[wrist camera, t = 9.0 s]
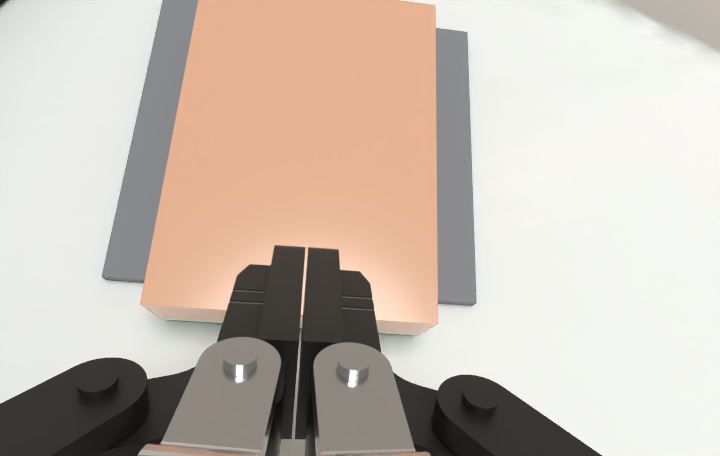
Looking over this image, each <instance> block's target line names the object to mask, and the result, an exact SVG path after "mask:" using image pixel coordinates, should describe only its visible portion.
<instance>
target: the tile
mask: <svg viewBox="0 0 720 456" xmlns="http://www.w3.org/2000/svg"><path fill="white" fill-rule="evenodd" d="M275 245H284V246H298V247H305V261H304V275H303V289H302V303H301V317H300V328H302V322H303V308H304V295H305V282H306V270H307V257H308V247H314V248H328V249H339V260H340V270H349V271H360V272H361V273H362V274H363V276H364V277H365V278H366V279H367V280H368V281H369V283H370V284H371V291H372V300H373V304H374V311H375V317H376V323H377V329H378V333H386V334H402V335H420V334H421V333H423V332H425V331H427V330H428V329H430V328H432V327H434V326H435V325H437V324H438V267H437V140H436V13H435V5H429V4H422V3H415V2H407V1H400V0H198V5H197V10H196V15H195V20H194V25H193V31H192V36H191V41H190V46H189V52H188V57H187V62H186V67H185V72H184V78H183V83H182V88H181V93H180V98H179V104H178V109H177V114H176V119H175V124H174V130H173V135H172V140H171V145H170V151H169V156H168V161H167V166H166V171H165V177H164V182H163V187H162V192H161V197H160V203H159V208H158V213H157V218H156V224H155V229H154V234H153V239H152V244H151V250H150V255H149V260H148V265H147V270H146V276H145V281H144V286H143V291H142V297H141V302H140V305H142V306H143V307H145V308H146V309H148V310H149V311H150V312H152V313H153V314H155V315H156V316H158V317H159V318H161V319H165V320H181V321H197V322H213V323H223V320H224V317H225V314H226V310H227V307H228V304H229V302H230V297H231V294H232V292H233V287H234V284H235V280H236V277H237V275H238V274H239V273H240V272H241V271H243V270H244V269H245V268H246V267H247V266H248V265H249V264H256V265H271V261H272V256H273V251H274V246H275Z"/></svg>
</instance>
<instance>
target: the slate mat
mask: <svg viewBox="0 0 720 456" xmlns="http://www.w3.org/2000/svg"><path fill="white" fill-rule="evenodd" d="M197 5H198V0H163V2H162V6H161V11H160V16H159V20H158V25H157V29H156V34H155V38H154V43H153V47H152V52H151V56H150V61H149V65H148V70H147V74H146V79H145V83H144V88H143V92H142V97H141V101H140V106H139V110H138V115H137V119H136V124H135V128H134V133H133V137H132V142H131V146H130V151H129V155H128V160H127V164H126V169H125V174H124V178H123V183H122V187H121V192H120V196H119V201H118V205H117V210H116V214H115V219H114V223H113V228H112V232H111V237H110V241H109V246H108V250H107V255H106V259H105V264H104V268H103V273H102V277H103V278H104V279H106V280H118V281H132V282H144V281H145V276H146V270H147V265H148V260H149V255H150V250H151V244H152V239H153V234H154V229H155V224H156V218H157V213H158V208H159V203H160V197H161V192H162V187H163V182H164V177H165V171H166V166H167V161H168V156H169V151H170V145H171V140H172V135H173V130H174V124H175V119H176V114H177V109H178V104H179V98H180V93H181V88H182V83H183V78H184V72H185V67H186V62H187V57H188V52H189V46H190V41H191V36H192V31H193V25H194V20H195V15H196V10H197ZM436 140H437V267H438V303H444V304H459V305H474V304H476V275H475V246H474V216H473V187H472V157H471V128H470V99H469V69H468V40H467V32H463V31H455V30H447V29H440V28H436Z"/></svg>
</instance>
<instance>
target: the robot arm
mask: <svg viewBox="0 0 720 456" xmlns="http://www.w3.org/2000/svg"><path fill="white" fill-rule="evenodd" d="M304 261H305V247H298V246H284V245H275V246H274V251H273V256H272V261H271V265H256V264H249V265H248V266H247V267H246V268H245V269H244V270H243V271H241V272H240V273H239V274H238V275H237V277H236V280H235V284H234V287H233V292H232V294H231V297H230V302H229V304H228V307H227V310H226V314H225V317H224V320H223V324H222V327H221V330H220V334H219V337H218V340H217V343H215V344H213V345H211V346H210V347H209V348H207V349H206V350H205V351H204V352H203V353H202V355H201V357H200V358H199V361H198V363H197V365H196V367H194V368H192V369H190V370H187V371H184V372H181V373H178V374H174V375H169V376H163V377H158V378H152V379H147V376H146V372H145V371H144V369H143V368H142V367H141V366H140V365H139V364H137V363H135V362H133V361H130V360H127V359H123V358H101V359H95V360H91V361H87V362H84V363H81V364H79V365H77V366H75V367H73V368H71V369H69V370H67V371H65V372H63V373H61V374H59V375H57V376H55V377H53V378H51V379H49V380H47V381H45V382H43V383H41V384H39V385H37V386H35V387H33V388H31V389H29V390H27V391H25V392H23V393H21V394H19V395H17V396H15V397H13V398H11V399H9V400H7V401H5V402H3V403H1V404H0V456H279V453H280V443H281V439H291V438H292V424H293V411H294V398H295V385H296V372H297V358H298V345H299V331H300V317H301V303H302V289H303V275H304ZM295 439H306V444H305V456H602V455H600V454H599V453H597V452H596V451H594V450H593V449H592V448H590V447H589V446H587V445H586V444H584V443H583V442H581V441H580V440H579V439H577V438H576V437H574V436H573V435H571V434H570V433H569V432H567V431H566V430H564V429H563V428H561V427H560V426H558V425H557V424H556V423H554V422H553V421H551V420H550V419H548V418H547V417H545V416H544V415H543V414H541V413H540V412H538V411H537V410H535V409H534V408H532V407H531V406H530V405H528V404H527V403H525V402H524V401H522V400H521V399H519V398H518V397H517V396H515V395H514V394H512V393H511V392H509V391H508V390H507V389H505V388H504V387H502V386H501V385H499V384H497V383H495V382H493V381H491V380H489V379H486V378H483V377H479V376H475V375H458V376H454V377H451V378H449V379H447V380H445V381H444V382H443V383H442V384H441V385H440V387H439V389H438V391H437V390H433V389H430V388H426V387H423V386H419V385H416V384H413V383H410V382H408V381H406V380H404V379H402V378H401V377H399V376H397V375H396V374H395V373H394V372H393V371H392V367H391V365H390V362H389V361H388V359H387V358H386V357H385V356H384V355H383V354H382V353H381V349H380V342H379V336H378V329H377V323H376V317H375V311H374V304H373V300H372V291H371V284H370V283H369V281H368V280H367V279H366V278H365V277H364V276H363V274H362V273H361V272H360V271H349V270H340V260H339V249H328V248H314V247H308V257H307V270H306V282H305V295H304V308H303V322H302V337H301V352H300V368H299V383H298V399H297V414H296V430H295Z"/></svg>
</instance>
